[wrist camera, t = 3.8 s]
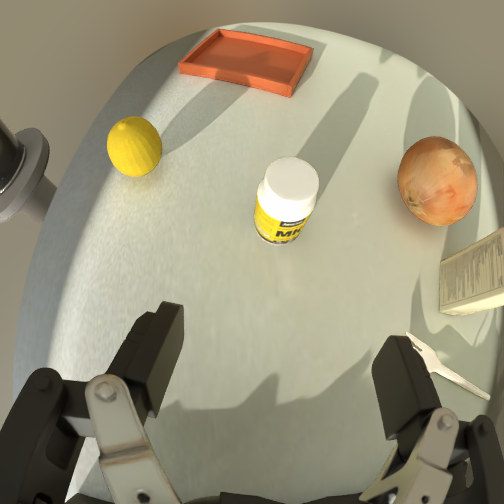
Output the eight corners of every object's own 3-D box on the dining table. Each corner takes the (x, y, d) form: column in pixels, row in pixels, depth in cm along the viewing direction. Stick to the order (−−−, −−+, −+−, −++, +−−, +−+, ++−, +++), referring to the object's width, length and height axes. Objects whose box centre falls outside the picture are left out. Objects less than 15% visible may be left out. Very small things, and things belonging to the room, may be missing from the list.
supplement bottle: (272, 255, 26) (285, 220, 18) (244, 217, 27) (245, 169, 19) (311, 229, 27) (337, 187, 19) (283, 194, 28) (297, 143, 20)
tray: (179, 73, 34) (177, 63, 32) (218, 37, 37) (217, 28, 36) (290, 97, 32) (292, 87, 31) (311, 57, 36) (313, 48, 34)
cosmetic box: (461, 316, 25) (538, 298, 13) (437, 312, 25) (519, 292, 13) (462, 265, 26) (532, 232, 15) (439, 258, 27) (512, 219, 15)
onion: (453, 205, 29) (500, 169, 19) (427, 255, 27) (485, 222, 17) (404, 154, 31) (441, 107, 21) (369, 195, 28) (412, 142, 19)
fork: (481, 409, 21) (490, 410, 19) (385, 356, 23) (395, 357, 22) (490, 386, 22) (499, 387, 20) (399, 327, 24) (408, 326, 22)
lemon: (157, 193, 27) (133, 148, 20) (116, 185, 28) (86, 143, 20) (176, 152, 29) (160, 103, 21) (135, 146, 29) (114, 101, 22)
